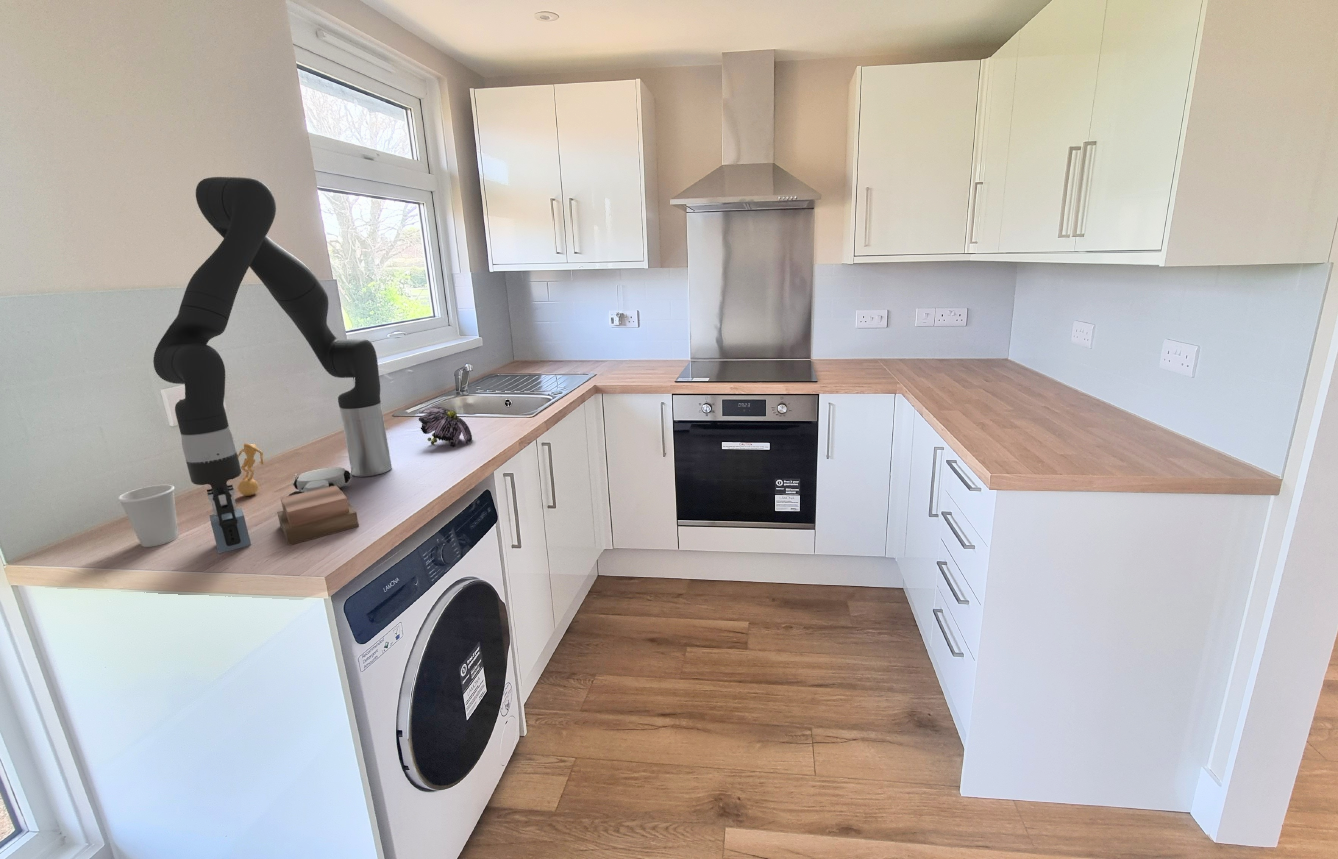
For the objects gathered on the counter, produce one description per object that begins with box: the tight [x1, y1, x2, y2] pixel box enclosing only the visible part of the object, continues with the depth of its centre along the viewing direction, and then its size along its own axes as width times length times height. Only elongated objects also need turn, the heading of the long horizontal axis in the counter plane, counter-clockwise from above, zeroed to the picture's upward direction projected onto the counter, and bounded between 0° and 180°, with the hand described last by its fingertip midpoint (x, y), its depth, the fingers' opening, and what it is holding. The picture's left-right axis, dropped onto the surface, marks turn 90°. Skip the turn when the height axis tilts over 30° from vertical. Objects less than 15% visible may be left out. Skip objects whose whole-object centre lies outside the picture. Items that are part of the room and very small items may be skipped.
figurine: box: [237, 442, 264, 497], centre depth 141 cm, size 8×6×12 cm
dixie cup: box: [117, 484, 179, 548], centre depth 117 cm, size 8×8×10 cm
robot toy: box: [288, 466, 353, 496], centre depth 139 cm, size 12×4×15 cm
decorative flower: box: [418, 406, 473, 448], centre depth 176 cm, size 15×12×15 cm
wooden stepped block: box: [276, 485, 360, 546], centre depth 121 cm, size 12×12×6 cm
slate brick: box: [209, 507, 252, 554], centre depth 114 cm, size 5×5×6 cm
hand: (232, 537), depth 115 cm, fingers open, 7 cm apart
